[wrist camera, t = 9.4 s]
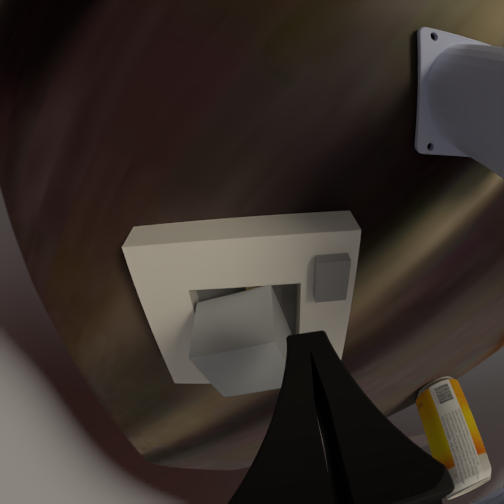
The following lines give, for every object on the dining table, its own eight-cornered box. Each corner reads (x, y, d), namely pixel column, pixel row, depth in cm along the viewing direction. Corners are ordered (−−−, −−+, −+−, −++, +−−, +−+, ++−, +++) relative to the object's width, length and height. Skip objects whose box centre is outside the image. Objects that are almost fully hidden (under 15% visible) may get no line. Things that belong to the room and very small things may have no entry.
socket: (349, 210, 20) (365, 237, 17) (332, 352, 28) (339, 382, 25) (133, 226, 20) (117, 254, 18) (178, 361, 28) (173, 390, 25)
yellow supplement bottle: (416, 406, 35) (444, 502, 23) (411, 388, 33) (444, 498, 20) (456, 387, 34) (490, 480, 21) (455, 367, 31) (497, 473, 18)
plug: (269, 267, 21) (274, 341, 16) (289, 315, 24) (296, 384, 19) (199, 285, 22) (188, 358, 17) (227, 329, 25) (223, 397, 20)
